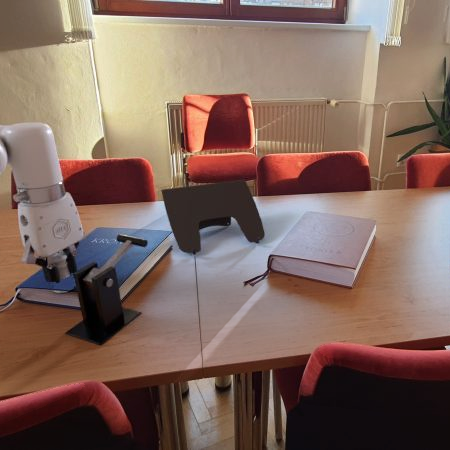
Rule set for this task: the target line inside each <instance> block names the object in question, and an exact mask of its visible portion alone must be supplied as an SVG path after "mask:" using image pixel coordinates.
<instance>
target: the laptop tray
mask: <svg viewBox="0 0 450 450" xmlns="http://www.w3.org/2000/svg"><path fill="white" fill-rule="evenodd" d="M160 191H161V196H162V200H163V204H164V208H165V212H166V216H167V219H168V222H169V226H170V228H171V229H170V230H171V232H172V235H173V237H174V239H175V241H176V244H177V246H178V249H179V250H180V251H181V252H183V253H185V254H191V256H192V257H193V258H195V257H196V256H197V253H200V252H201V250H202V246H201V245H202V244H201V241H202V240H201V233H200V231H201V230H203V229H207V228H210V227H230V226H231V225H232V218H233V219H234V220H235V221H236V223H237V225H238V227H239V229H240V231H241V232H242V234H243V236H244V237H245V239H246V240H247V242H248V243H251V244H252V243H253V244H254V246H256V247H257V246H259V244H260V241H262V240H263V239H264V238H265V235H266V233H265V229H264V225H263V222H262V217H261V215H260V211H259V208H258V207H257V204H256V202H255V198H254V196H253V194H252V192H251V189H250V188H249V185H248V183H247V181H246V179H239V180H231V181H223V182H214V183H205V184H196V185H190V186H189V185H187V186H179V187H172V188H162V189H161V190H160Z"/></svg>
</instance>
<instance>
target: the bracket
mask: <svg viewBox="0 0 450 450" xmlns="http://www.w3.org/2000/svg"><path fill="white" fill-rule="evenodd" d="M93 268H97V269H99V264H98V262H95V261H92V262H90V263H89V264H86V265H85V266H83V267H82V268H80V269H77V271H76V272H74V273H73V275H72V277H74V281H75V286H76V287H75V289H76V294H77V298H78V302H79V307H80V312H81V317H82V320H81V321H79V322H78V323H76V324H75V325H74V326H73V327H71V328H70V329H69V330H67V331H66V332H65V333H64V334H65V335H66V336H69V337H72V338H76V339H79V340H81V341H85V342H88V343H91V344H93V345H94V344H95V345H97V346H100V347H102V346H103V345H105V344H106V343H107V342H108V341H110V340H111V339H112V338H113V337H115V336H116V335H117V334H118V333H120V331H122V330H123V329H125V328H126V327H127V326H128V325H129V324H130V323H132V322H133V321H134V320H136V319H137V318H138V317H139V316H141V315H142V314H143V313H142V311H139V310H136V309H132V308H128V307H124V306H123V303H122V298H121V292H120V287H119V280H118V275H117V270H116V266H114V267H112V266H111V267H109V268H107V269H106V270H104V271H102V272H101V273H99V274H98V275H96V276H94V277H93V278H91V279H92V284H93V289H94V290H92V289H88V287H87V285H86V284H85V282H84V281H83V279H84V278H85V276H86V275H87V274H88V273H89V272H90V271H91V270H92V269H93Z"/></svg>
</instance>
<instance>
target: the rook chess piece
mask: <svg viewBox="0 0 450 450" xmlns="http://www.w3.org/2000/svg"><path fill="white" fill-rule="evenodd" d="M66 258H67V255H66V254H64V252H63V251H59V252H57V253H55V254H53V262H54V266H56V267H57V268H58V272H59V276H60V280H61V279H65V278H67V277H69V276H70V273H69V270H68V268H67V262H66ZM53 292H54V293H56V294H67V293H68V292H63V291H53Z"/></svg>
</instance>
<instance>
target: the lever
mask: <svg viewBox="0 0 450 450" xmlns="http://www.w3.org/2000/svg"><path fill="white" fill-rule="evenodd" d="M116 241H117V242H119V243H122V245H121V246H120V247H119V248H118V249H117V250H116V251H115V253H114V254H113V255H112V256H110V258H109V259H108V260H107V261H106V262H105V263H104V264H103V265H102V266H101V267H100V268H98V269H97V268H93V269H92V270H91V271H90V272H89V273H88V274H87V275H86V276H85V278H84V279H83V281H84V282H85V284H86V285H87V287H88V289H92V290H94V289H93V284H92V279H91V278H93V277H94V276H96V275H98V274H99V273H101V272H102V271H104V270H106V269H107V268H109V267H111V266H112V267H116V265H117V264H118V262H120V260H122V258H123V257H124V256H125V255H126V254H127V253H128V252H129V251H130V249H131V248H133V246H136V247H141V248H147V246H148V243H149V242H148V240H147V239H146V238H145V239H144V238H139V237H135V236H131V235H125V234H121V233H119V234H117V236H116Z"/></svg>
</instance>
